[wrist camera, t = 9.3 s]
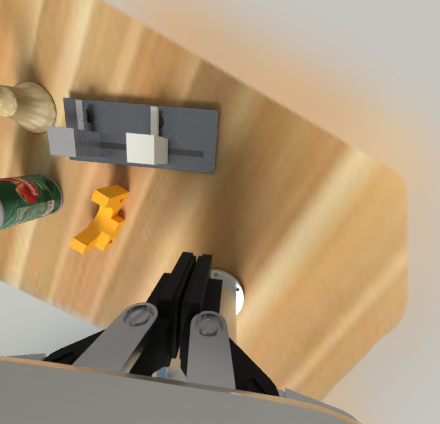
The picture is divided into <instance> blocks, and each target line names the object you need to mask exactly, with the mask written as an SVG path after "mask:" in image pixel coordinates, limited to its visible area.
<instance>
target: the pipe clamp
mask: <svg viewBox="0 0 440 424" xmlns="http://www.w3.org/2000/svg"><path fill="white" fill-rule="evenodd" d="M128 194H129V192H128V191H127V190H125V189H124V188H122V187H121V186H119V185H114V186H110V187H105V188H101V189H97V190H95V192H94V194H93V196H92V199H91V200H92V201H94V202H96V203H97V204H99V205H100V208H99V211H98V213H97V215H96V217H95V218H94V220H93V221H92V222H91V224H90V225H89V226H88V227H87V228H86V229H85V230H84V231H83V232H81V233H80V234H79V235H77V236H76V237H74V238H73V240H72V242H71V244H70V247H72V248H73V249H75V250H77V251H78V252H80V253H82V254H83V253H85V252H86V251H88V250H89V249H91V248H93V247H94V246H95V247H97V248H99V249H100V250H102V251H103V250H105V249H106V248H108V247H109V246H110V245H112V244H113V242H114V240H115V238H116V236H117V234H118V232H119V230H120V229H121V227H122V225H123V223H124V221H125V219H123V218H121V217H120V216H118V213H119V211H120V209H121V207H122V205H123V203H124V202H125V200H126V198H127V196H128Z"/></svg>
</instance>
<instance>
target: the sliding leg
mask: <svg viewBox="0 0 440 424" xmlns="http://www.w3.org/2000/svg"><path fill="white" fill-rule="evenodd" d="M126 145H127V162H130V163H140V164H151V165H157V164H166V163H168V139H167V138H163V137H159V108H158V107H152V106H151V135H146V134H134V133H126Z"/></svg>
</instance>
